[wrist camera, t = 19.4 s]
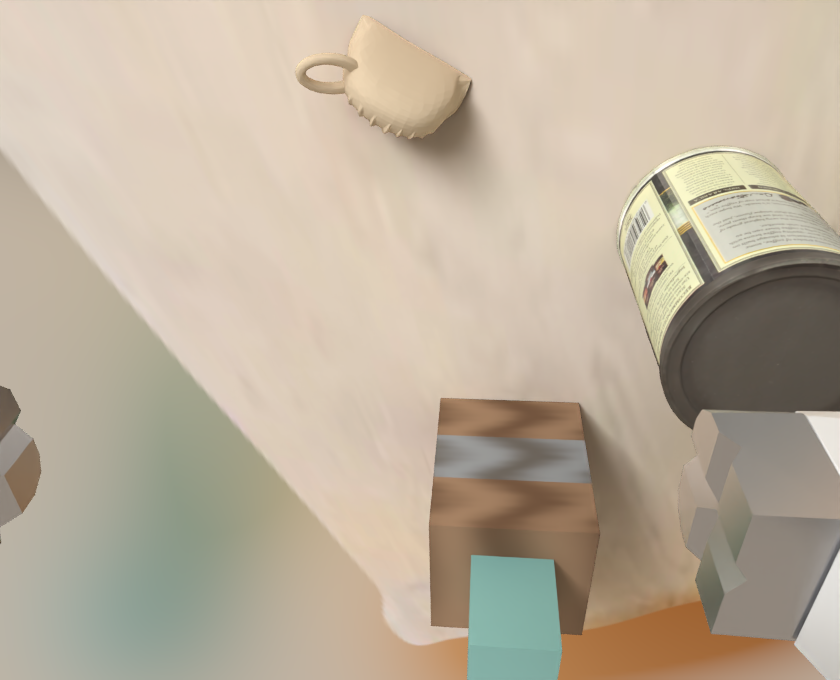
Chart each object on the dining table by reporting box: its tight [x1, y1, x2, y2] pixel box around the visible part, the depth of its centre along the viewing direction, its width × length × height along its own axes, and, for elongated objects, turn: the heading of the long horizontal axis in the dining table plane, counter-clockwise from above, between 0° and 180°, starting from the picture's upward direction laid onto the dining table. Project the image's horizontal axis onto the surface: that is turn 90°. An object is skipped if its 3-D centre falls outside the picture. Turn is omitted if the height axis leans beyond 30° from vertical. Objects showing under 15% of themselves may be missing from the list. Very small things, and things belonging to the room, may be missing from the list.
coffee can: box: [617, 146, 840, 430], centre depth 37 cm, size 10×10×14 cm
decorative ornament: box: [295, 15, 471, 139], centre depth 37 cm, size 4×8×5 cm, turn 59°
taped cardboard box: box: [429, 398, 600, 635], centre depth 49 cm, size 10×10×12 cm
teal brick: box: [467, 555, 562, 680], centre depth 42 cm, size 5×5×6 cm
